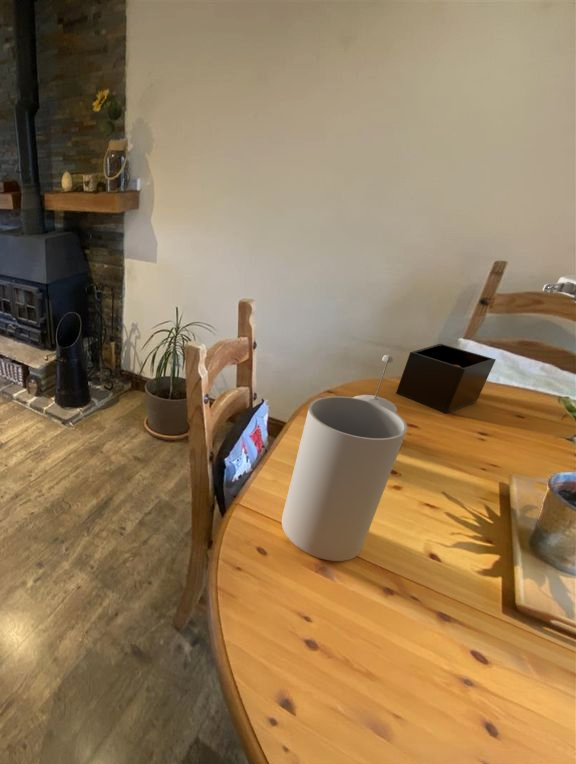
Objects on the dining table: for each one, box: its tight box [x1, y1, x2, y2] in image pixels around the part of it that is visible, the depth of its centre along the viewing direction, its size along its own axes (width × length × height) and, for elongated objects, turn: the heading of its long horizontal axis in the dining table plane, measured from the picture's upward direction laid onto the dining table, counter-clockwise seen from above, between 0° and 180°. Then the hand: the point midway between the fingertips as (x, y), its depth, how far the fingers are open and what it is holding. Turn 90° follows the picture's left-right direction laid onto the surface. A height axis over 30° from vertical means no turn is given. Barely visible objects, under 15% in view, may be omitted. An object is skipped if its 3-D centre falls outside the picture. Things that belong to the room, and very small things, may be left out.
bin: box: [395, 343, 497, 415], centre depth 110 cm, size 12×12×13 cm
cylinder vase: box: [281, 395, 408, 562], centre depth 69 cm, size 12×12×25 cm
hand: (560, 293), depth 94 cm, fingers open, 8 cm apart
